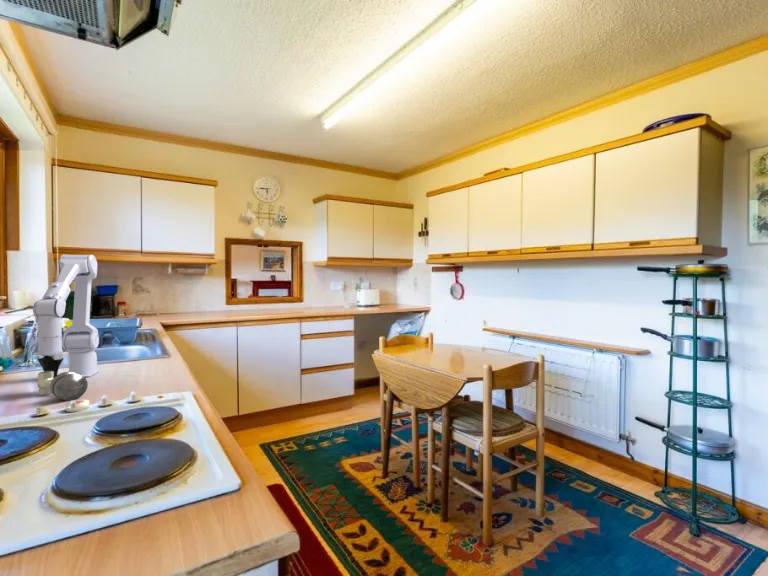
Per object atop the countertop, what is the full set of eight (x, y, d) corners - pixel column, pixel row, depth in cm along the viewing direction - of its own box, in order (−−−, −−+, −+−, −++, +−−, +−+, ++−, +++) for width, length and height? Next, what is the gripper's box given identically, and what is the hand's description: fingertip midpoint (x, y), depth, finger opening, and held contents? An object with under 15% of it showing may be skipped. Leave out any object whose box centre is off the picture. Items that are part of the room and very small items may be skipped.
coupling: (50, 400, 116) (49, 374, 116) (81, 394, 123) (80, 369, 122) (56, 403, 113) (55, 376, 113) (87, 397, 120) (87, 371, 120)
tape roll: (71, 407, 111) (71, 400, 110) (92, 405, 112) (92, 398, 112) (62, 412, 106) (62, 405, 106) (84, 411, 107) (84, 404, 107)
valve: (29, 396, 121) (65, 397, 119) (29, 374, 121) (64, 375, 119) (50, 390, 127) (84, 391, 126) (50, 369, 127) (83, 370, 126)
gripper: (26, 336, 127) (27, 379, 128) (41, 340, 119) (42, 386, 119) (54, 334, 133) (55, 374, 134) (70, 337, 125) (71, 381, 125)
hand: (51, 379), depth 127 cm, fingers closed
